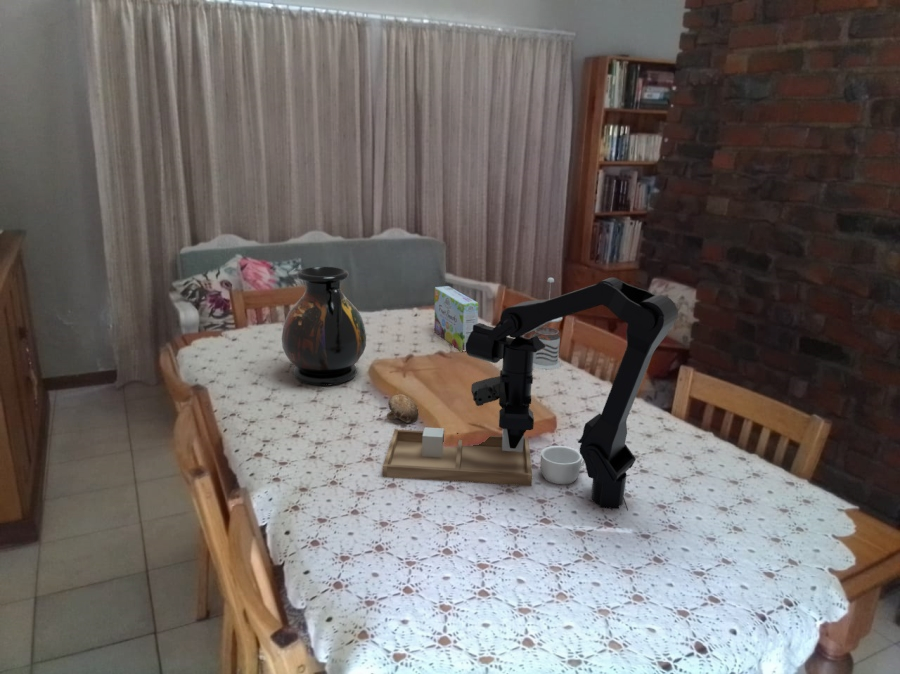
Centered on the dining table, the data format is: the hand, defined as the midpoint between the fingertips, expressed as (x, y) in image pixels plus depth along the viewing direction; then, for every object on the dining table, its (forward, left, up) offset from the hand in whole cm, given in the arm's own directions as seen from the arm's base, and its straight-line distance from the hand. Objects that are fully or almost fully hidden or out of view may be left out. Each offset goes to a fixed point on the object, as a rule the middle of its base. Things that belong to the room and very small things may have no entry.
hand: (512, 443), depth 134 cm
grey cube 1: (+3, +16, -5) cm, 17 cm away
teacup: (-3, -10, -6) cm, 12 cm away
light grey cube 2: (0, 0, -1) cm, 1 cm away
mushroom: (+19, +24, -6) cm, 31 cm away
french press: (+63, -10, -6) cm, 64 cm away
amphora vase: (+44, +48, -6) cm, 65 cm away
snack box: (+79, +16, -6) cm, 81 cm away
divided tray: (0, +10, -5) cm, 12 cm away
